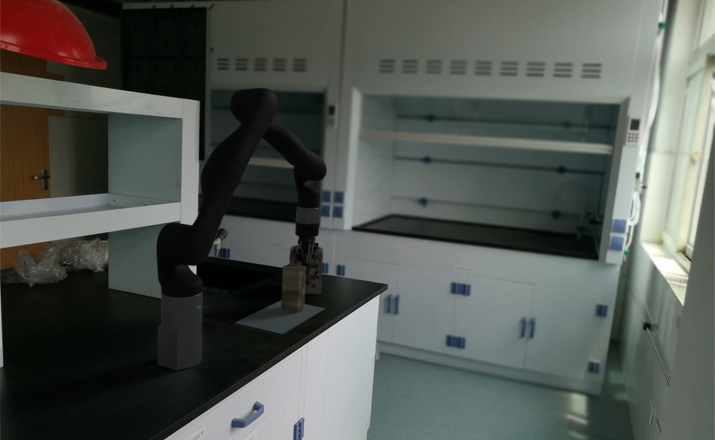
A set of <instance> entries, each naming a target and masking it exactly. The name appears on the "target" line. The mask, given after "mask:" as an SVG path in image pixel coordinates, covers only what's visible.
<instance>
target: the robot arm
mask: <svg viewBox="0 0 715 440" xmlns="http://www.w3.org/2000/svg"><path fill="white" fill-rule="evenodd" d="M229 102H230V103H229V105H230V110H231V113H232V115H233V117H234V118H235V119H236V120H237V122H238V123H240V125H239V126H238V127H237V129H234V131H233V132H231V134H229V135H228V136H227V137H225V139H223V140H222V141H220V143H219V144H217V146H216V147H214V149H213V150H212V151H211V153H210V154H209V156H208V159H207V160H206V162H205V164H204V166H203V168H202V171H201V173H200V189H201V190H200V191H201V196H202V203H201V206H200V209H199V211H198V214H197V216H196V218H195V220H194V222H193V223H192V224H187V223H182V222H181V223H180V222H168V223H166V224H165V225H164V226H163V227H162V228H161V229H160V230H159V232H158V235H157V239H156V250H155V251H156V267H157V268H156V269H157V280H158V283H159V284H160V289H161V291H160V292H161V295H160V298H161V299H160V300H161V301H160V307H161V309H160V325H158V326H157V366H160V367H163V368H167V369H171V370H174V371H177V372H178V371H181V370H184V369H189V368H192V367H195V366H197V365H199V364H200V363H201V362H202V357H203V355H202V354H203V343H202V342H203V296H204V295H203V294H204V293H203V291H204V289H203V288H204V284H203V283H204V282H203V279H202V278H201V277H200V276H198V275H197V274H196V273H195V272H193V270H192V269H191V268H190V267H197V266H200V265H202V264H203V263H204V262H205V261H206V259H207V258H208V257H209V255H210V253H211V251H212V249H213V246H214V243H215V241H216V238H217V235H218V232H219V229H220V227H221V224H222V222H223V219H224V215H225V213H226V211H227V208H228V206H229V204H230V202H231V201H232V200H231V199H232V198H233V195H234V193H235V192H236V190H237V189H238V186H239V184H240V182H241V180H242V178H243V176H244V174H245V171H246V169H247V167H248V166H249V163H250V162H251V159H252V156H253V155H254V153H255V152H256V149H257V147H258V146H259V143H260V142H261V140H264V141H265V142H266V143H267V144H269V145H270V146H271V147H272V148H273V149H275V151H277V152H278V154H280V156H282V158H283V159H284V160H285V161H286V162H287V163H289V165H291V166H293V168H292V169H293V171H292V172H293V177H294V182H295V188H296V193H297V198H296V199H297V201H296V202H297V203H296V212H295V228H294V229H295V230H294V231H295V233H294V234H295V235H296V236H298V239H297V245H298V246H297V248H294V249H293V251H294V253H295V256H296V258H297V260H298V261H299V262H301V263H302V264H301V266H305V267H306V274H308V273H309V267H310V262H311V259H314V256H315V253H316V251H317V248H318V247H319V242H316V238H317V237H318V236H319V234H320V220H321V219H320V218H321V217H320V216H321V214H320V200H321V192H320V190H319V189H318V188H315V187H313V186H312V184H311V181H312V182H320V181H322V180H323V179H325V177H326V176H327V174H328V173H327V172H328V171H327V170H328V168H327V165H326V163H325V160H324V159H323V158H321V157H320V156H319V155H317V154H316V153H315V152H313V151H312V150H311V149H308V148H307V147H306V145H304V143H303V142H302V141H301V140H300V139H299V137H297V136H296V135H295V134H294V133H293V132H291V130H288V129H286V128H285V127H283V126H281V125H279V124H277V123H275V122H274V119H275V116H276V114H277V111H278V98H277V95H276V94H275V92H274V91H273V90H271V89H270V88H267V87H255V88H254V87H253V88H243V89H240V90H236V91H235V92H234V93H233V94H232V96H231V98H230V101H229Z"/></svg>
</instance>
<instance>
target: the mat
mask: <svg viewBox="0 0 715 440" xmlns="http://www.w3.org/2000/svg"><path fill="white" fill-rule="evenodd" d="M281 301H282V299H281V300H279V301H277V302H275V303H273V304H271V305H269V306H266V307H264V308H262V309H260V310H258V311H256V312H254V313H252V314H250V315H248V316H246V317H244V318H241V319H240V320H237V321H236V322H235V321H234V326H236V327H240V328H245V329H247V330H253V331H257V332H261V333H265V334H269V335H274V336H277V337H284V336H283V335H284V334H285V333H287V332H288V331H290V330H292V329H294V328H295V327H297V326H298V325H300V324H302V323H303V322H306V321H307V320H309V319H310V318H312V317H314V316H316V315H317V314H319V313H320V312H322V311H324V310H325V309H326V307H320V306H315V305H312V304H306V303H304V310H303V311H301V312H299V313H294V312H289V311H284V310H281ZM255 328H256V329H255ZM276 333H277V334H276Z"/></svg>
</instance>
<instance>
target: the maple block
mask: <svg viewBox="0 0 715 440" xmlns="http://www.w3.org/2000/svg"><path fill="white" fill-rule="evenodd" d="M281 280H282V281H281V300H282V301H281V300H280V301H281V310H284V311H289V312H294V313H299V312H301V311H303V310H304V304H306V303H305V300H306V294H305V283H306V267H305V266H299V265H293V264H289V263H288V264H286V265H283V266H282V279H281Z"/></svg>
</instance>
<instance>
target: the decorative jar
mask: <svg viewBox="0 0 715 440" xmlns="http://www.w3.org/2000/svg"><path fill="white" fill-rule="evenodd" d="M297 246H298V244H297V245H292V246H291V247H290V249H289V250H290V251H289V258H288V260H289V262H288V264H293V265H299V266H301V264H302V263H301V262H299V261H298V260H297V258H296V256H295V253H294V251H293V249H294V248H297ZM323 262H324V248H323V247H321V246H318V248H317V251H316V253H315V256H314V259H311V262H310V267H309V273H308V274H306V283H305V295H321V293H322V285H323V281H322V280H323V271H324V270H323V269H324V268H323V265H324V264H323Z"/></svg>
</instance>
